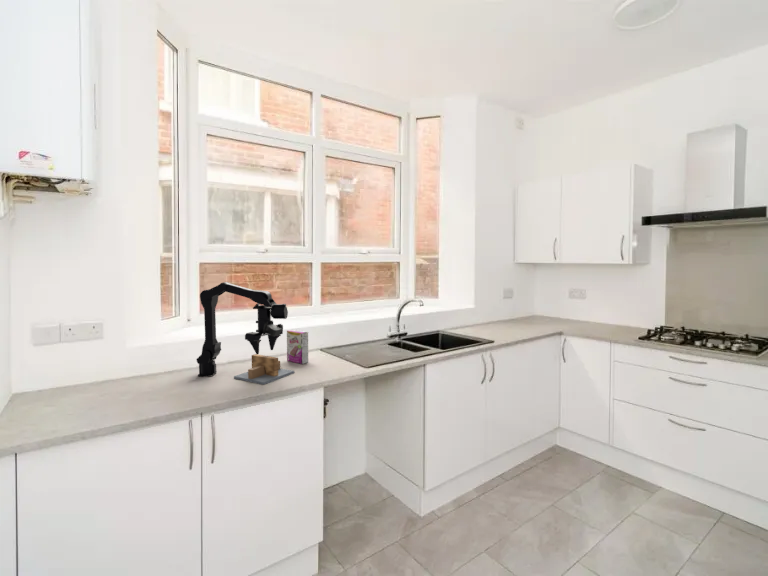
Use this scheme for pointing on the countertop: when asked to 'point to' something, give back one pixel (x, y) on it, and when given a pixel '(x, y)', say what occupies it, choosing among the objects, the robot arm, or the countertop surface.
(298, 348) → the candy bar box
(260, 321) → the robot arm
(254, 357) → the crossbar
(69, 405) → the countertop surface
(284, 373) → the joint board
